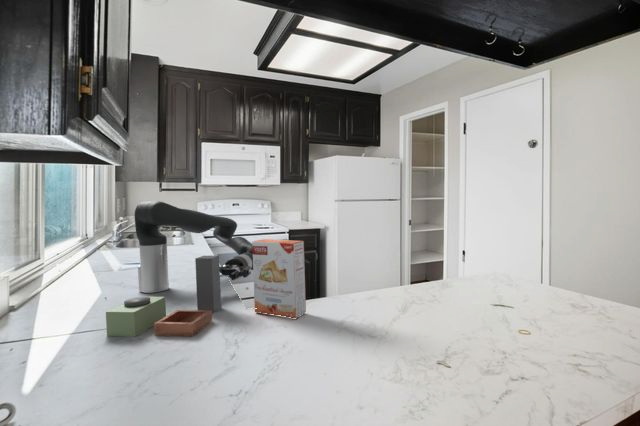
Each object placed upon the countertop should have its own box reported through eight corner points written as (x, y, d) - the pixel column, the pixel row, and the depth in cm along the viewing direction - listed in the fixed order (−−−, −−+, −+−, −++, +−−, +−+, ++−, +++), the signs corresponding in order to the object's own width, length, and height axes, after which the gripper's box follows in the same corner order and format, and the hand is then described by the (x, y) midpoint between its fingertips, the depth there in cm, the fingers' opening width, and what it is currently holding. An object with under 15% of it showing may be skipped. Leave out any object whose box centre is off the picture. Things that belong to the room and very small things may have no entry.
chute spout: (197, 313, 98) (195, 258, 98) (205, 307, 103) (203, 255, 103) (213, 313, 98) (211, 258, 97) (221, 307, 102) (219, 255, 102)
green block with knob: (107, 335, 83) (105, 307, 83) (141, 317, 96) (140, 293, 95) (135, 336, 82) (133, 308, 82) (166, 317, 95) (165, 293, 94)
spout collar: (154, 335, 82) (154, 323, 82) (177, 320, 92) (176, 309, 92) (193, 336, 81) (192, 324, 81) (212, 321, 91) (211, 310, 91)
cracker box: (253, 313, 96) (250, 240, 95) (266, 307, 101) (264, 238, 101) (295, 320, 90) (292, 242, 89) (306, 313, 95) (304, 239, 94)
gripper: (257, 276, 123) (241, 288, 107) (220, 275, 125) (199, 288, 109) (257, 255, 122) (240, 265, 106) (220, 255, 125) (198, 265, 109)
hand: (219, 277), depth 108 cm, fingers open, 8 cm apart
